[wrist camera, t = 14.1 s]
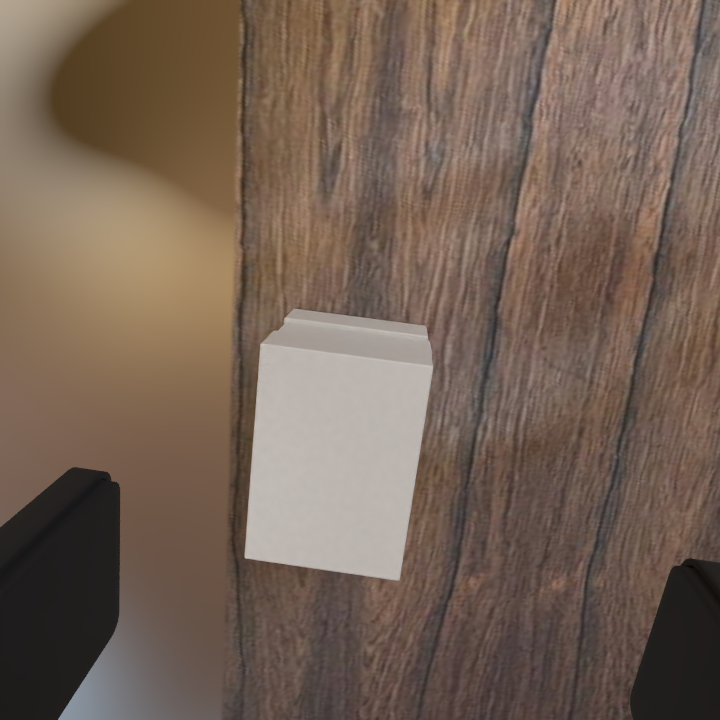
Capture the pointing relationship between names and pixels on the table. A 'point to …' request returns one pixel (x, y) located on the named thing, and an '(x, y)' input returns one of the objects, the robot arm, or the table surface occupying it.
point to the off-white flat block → (335, 453)
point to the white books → (357, 329)
